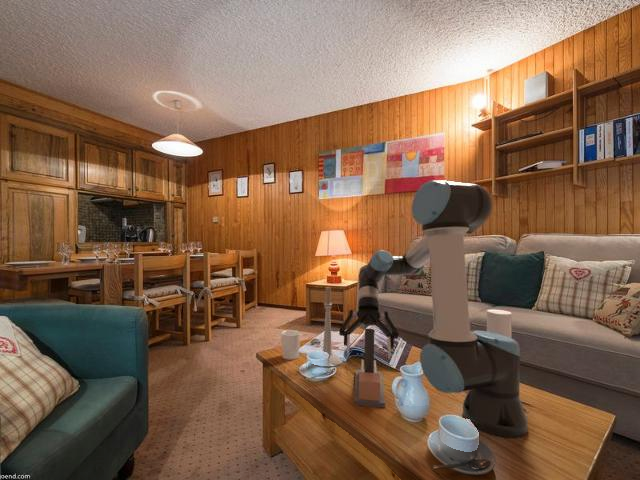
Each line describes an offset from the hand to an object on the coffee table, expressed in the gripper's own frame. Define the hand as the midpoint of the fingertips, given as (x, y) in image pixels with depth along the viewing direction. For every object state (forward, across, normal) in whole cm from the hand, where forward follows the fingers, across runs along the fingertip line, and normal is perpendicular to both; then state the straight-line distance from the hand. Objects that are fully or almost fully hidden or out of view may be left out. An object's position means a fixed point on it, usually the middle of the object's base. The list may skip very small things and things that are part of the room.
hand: (368, 356), depth 99 cm
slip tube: (+8, 0, -4) cm, 9 cm away
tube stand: (+7, 0, -7) cm, 10 cm away
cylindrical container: (+1, -43, -14) cm, 46 cm away
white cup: (-8, +32, -23) cm, 40 cm away
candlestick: (-7, +16, -22) cm, 28 cm away
